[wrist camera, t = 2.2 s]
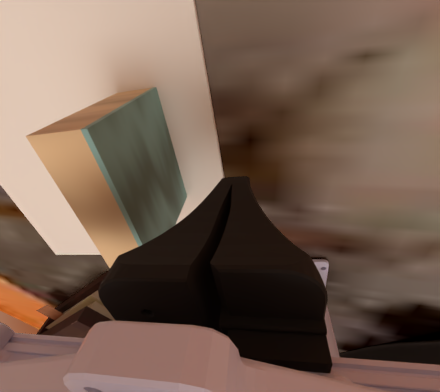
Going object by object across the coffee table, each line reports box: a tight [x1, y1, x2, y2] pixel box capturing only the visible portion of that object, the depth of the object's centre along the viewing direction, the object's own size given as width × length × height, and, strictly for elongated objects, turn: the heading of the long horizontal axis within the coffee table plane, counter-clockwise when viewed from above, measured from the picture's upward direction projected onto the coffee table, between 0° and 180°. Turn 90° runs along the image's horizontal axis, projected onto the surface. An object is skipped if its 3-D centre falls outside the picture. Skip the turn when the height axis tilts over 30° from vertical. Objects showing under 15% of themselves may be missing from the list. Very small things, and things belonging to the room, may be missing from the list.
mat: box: [0, 0, 225, 255], centre depth 20 cm, size 24×22×1 cm
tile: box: [26, 87, 187, 268], centre depth 16 cm, size 9×3×8 cm, turn 9°
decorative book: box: [36, 271, 115, 338], centre depth 36 cm, size 19×8×30 cm
